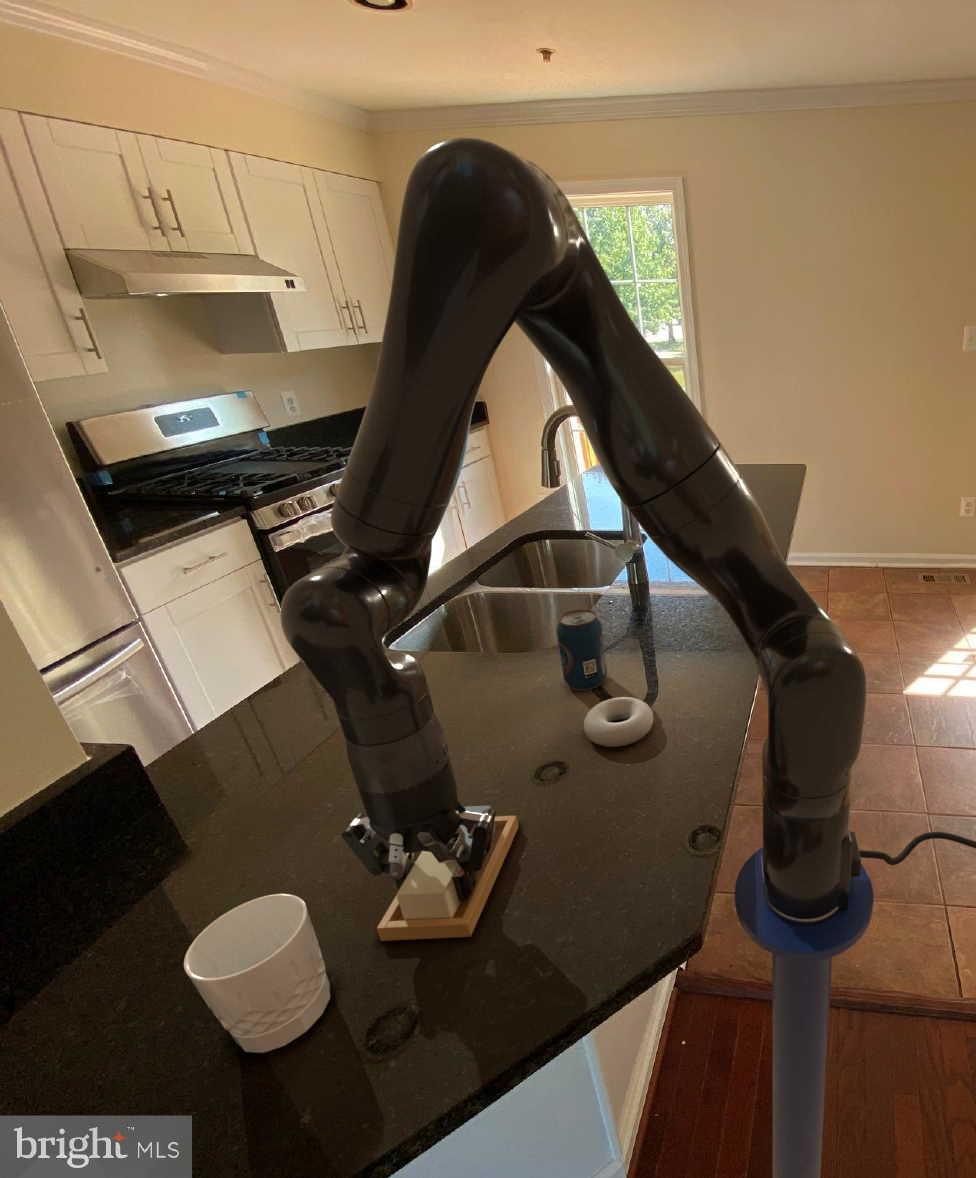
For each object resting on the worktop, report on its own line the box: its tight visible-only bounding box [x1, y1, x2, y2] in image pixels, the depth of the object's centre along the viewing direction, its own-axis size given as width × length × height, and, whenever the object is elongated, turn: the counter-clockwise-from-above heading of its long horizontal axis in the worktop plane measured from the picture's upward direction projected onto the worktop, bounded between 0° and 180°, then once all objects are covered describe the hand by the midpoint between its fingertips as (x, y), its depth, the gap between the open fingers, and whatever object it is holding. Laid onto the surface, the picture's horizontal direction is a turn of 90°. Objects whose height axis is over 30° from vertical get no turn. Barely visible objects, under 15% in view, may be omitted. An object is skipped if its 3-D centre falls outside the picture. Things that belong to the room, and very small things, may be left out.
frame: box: [376, 815, 519, 942], centre depth 68 cm, size 9×15×2 cm, turn 3°
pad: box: [395, 851, 461, 920], centre depth 65 cm, size 4×6×4 cm
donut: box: [583, 696, 654, 748], centre depth 93 cm, size 10×4×10 cm
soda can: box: [556, 609, 608, 691], centre depth 103 cm, size 7×7×12 cm
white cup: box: [183, 893, 331, 1054], centre depth 54 cm, size 8×8×10 cm
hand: (441, 894), depth 65 cm, fingers closed on pad, 4 cm apart
